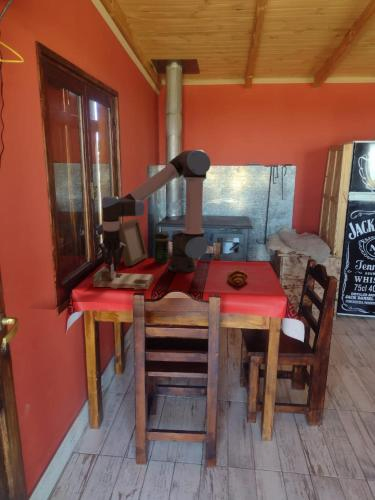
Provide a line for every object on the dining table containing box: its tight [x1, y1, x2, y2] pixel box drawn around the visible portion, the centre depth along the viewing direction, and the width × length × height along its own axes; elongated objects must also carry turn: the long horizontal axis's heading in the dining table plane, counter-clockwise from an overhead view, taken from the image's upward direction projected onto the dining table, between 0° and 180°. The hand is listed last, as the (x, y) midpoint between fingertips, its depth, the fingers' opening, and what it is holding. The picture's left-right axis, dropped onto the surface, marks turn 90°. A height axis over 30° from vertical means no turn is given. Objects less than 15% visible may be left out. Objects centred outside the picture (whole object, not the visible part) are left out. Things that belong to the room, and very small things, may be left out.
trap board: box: [92, 265, 154, 290], centre depth 177 cm, size 26×16×6 cm, turn 85°
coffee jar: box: [154, 230, 170, 264], centre depth 215 cm, size 10×8×19 cm
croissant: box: [226, 268, 248, 287], centre depth 181 cm, size 21×10×8 cm, turn 176°
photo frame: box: [117, 218, 148, 267], centre depth 214 cm, size 15×22×25 cm
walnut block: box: [101, 267, 113, 281], centre depth 174 cm, size 5×5×5 cm
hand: (113, 277), depth 173 cm, fingers closed
